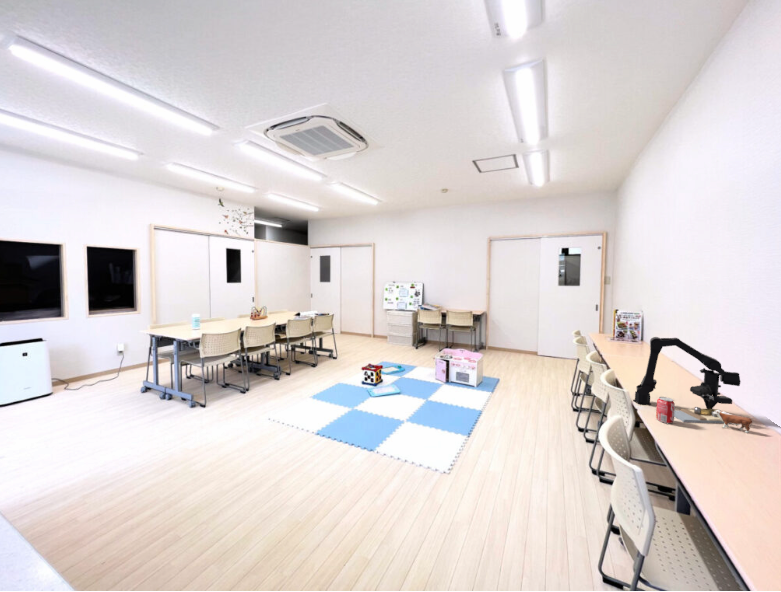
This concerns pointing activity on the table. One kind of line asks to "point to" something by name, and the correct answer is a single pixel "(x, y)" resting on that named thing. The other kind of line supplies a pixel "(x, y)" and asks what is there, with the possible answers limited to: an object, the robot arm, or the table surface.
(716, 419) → the door mockup
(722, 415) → the bull figurine
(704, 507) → the table surface
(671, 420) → the soda can
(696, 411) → the latch bar
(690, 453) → the table surface
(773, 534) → the table surface
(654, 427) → the table surface
